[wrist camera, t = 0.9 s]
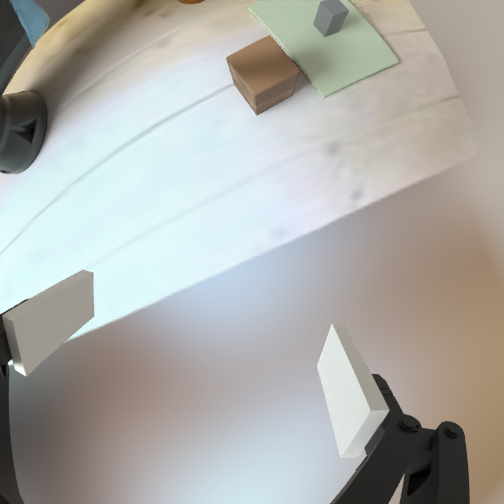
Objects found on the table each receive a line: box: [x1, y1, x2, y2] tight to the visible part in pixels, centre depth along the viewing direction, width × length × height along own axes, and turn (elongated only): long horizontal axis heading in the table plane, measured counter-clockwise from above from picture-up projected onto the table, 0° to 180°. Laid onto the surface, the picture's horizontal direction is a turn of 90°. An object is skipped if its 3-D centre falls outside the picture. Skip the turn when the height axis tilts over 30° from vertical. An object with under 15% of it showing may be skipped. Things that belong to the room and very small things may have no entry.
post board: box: [248, 0, 400, 98], centre depth 27 cm, size 18×14×7 cm
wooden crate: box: [226, 35, 300, 115], centre depth 28 cm, size 5×5×9 cm
